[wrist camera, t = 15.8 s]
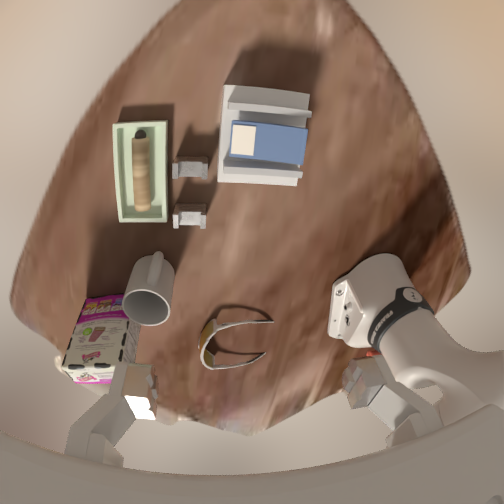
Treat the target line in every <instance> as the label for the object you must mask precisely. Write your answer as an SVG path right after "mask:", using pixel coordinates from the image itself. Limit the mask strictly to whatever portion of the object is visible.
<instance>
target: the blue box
mask: <svg viewBox="0 0 504 504" xmlns="http://www.w3.org/2000/svg"><path fill="white" fill-rule="evenodd" d="M307 133H308V129H307V128H302V127H295V126H288V125H281V124H272V123H264V122H254V121H243V120H232V124H231V136H230V149H229V157H238V158H249V159H258V160H267V161H275V162H283V163H291V164H298V165H303V160H304V154H305V147H306V140H307Z"/></svg>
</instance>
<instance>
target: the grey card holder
mask: <svg viewBox="0 0 504 504" xmlns="http://www.w3.org/2000/svg"><path fill="white" fill-rule="evenodd" d="M309 97H310V94H306V93H300V92H293V91H286V90H278V89H270V88H261V87H251V86H238V85H223V94H222V106H221V118H220V132H219V146H218V162H217V180H218V182H234V183H256V184H274V185H289V186H297V180H298V178H302V174H303V171H302V170H301V169H300V168H299V167H300V165H298V164H291V163H283V162H275V161H267V160H258V159H249V158H238V157H229V149H230V136H231V124H232V120H243V121H254V122H264V123H272V124H281V125H288V126H295V127H302V128H305V127H306V120H307V118H311V114H312V111H309V110H308V105H309Z"/></svg>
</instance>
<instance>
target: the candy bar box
mask: <svg viewBox="0 0 504 504" xmlns="http://www.w3.org/2000/svg"><path fill="white" fill-rule="evenodd" d="M124 294H125V293H122V294H115V295H109V296H102V297H95V298H88V299H86V300H85V302H84V305H83V307H82V310H81V312H80V315H79V318H78V320H77V323H76V325H75V328H74V331H73V334H72V336H71V339H70V342H69V345H68V348H67V351H66V354H65V357H64V360H63V363H62V366H61V368H62V369H63V370H64V371H65V372H66V373H67V374H68V376H69V377H70V378H72V380H73V381H74V382H75V383H76V384H101V383H111V381H112V377H113V373H114V369H115V365H116V363H117V362H118V361H119V362H129V363H135V357H136V351H137V344H138V339H139V332H140V327H141V324H138V323H136V322H134V321H132V320H131V319H130V318H129V317H127V315H126V314H125V313H124V311H123V308H122V300H123V297H124Z"/></svg>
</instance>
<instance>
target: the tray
mask: <svg viewBox="0 0 504 504" xmlns="http://www.w3.org/2000/svg"><path fill="white" fill-rule="evenodd" d="M138 130H144V131H145V132H146V134H147V137H150V192H151V209H150V210H148V211H143V212H139V211H136V210H135V207H134V192H133V174H132V138H134V137H135V133H136V132H137V131H138ZM113 154H114V172H115V186H116V197H117V207H118V216H119V222H167V220H168V120H150V121H130V122H117V123H115V124H113Z"/></svg>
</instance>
